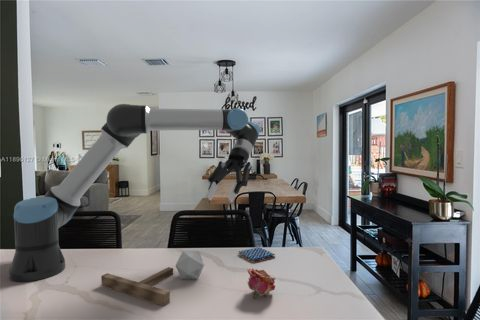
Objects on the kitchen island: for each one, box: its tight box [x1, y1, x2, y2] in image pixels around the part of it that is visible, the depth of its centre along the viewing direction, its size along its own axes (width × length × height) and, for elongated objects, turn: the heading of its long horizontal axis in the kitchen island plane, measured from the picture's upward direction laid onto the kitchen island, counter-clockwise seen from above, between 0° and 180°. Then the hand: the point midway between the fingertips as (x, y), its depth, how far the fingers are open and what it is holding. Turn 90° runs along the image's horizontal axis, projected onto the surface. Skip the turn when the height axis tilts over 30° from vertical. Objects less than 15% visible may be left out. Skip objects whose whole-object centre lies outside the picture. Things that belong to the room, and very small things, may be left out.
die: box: [175, 250, 205, 280], centre depth 94 cm, size 8×9×10 cm
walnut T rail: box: [101, 266, 174, 307], centre depth 90 cm, size 24×16×3 cm, turn 61°
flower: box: [246, 267, 276, 299], centre depth 82 cm, size 9×9×7 cm
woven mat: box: [238, 246, 276, 264], centre depth 112 cm, size 10×11×2 cm
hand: (219, 199), depth 108 cm, fingers open, 8 cm apart
